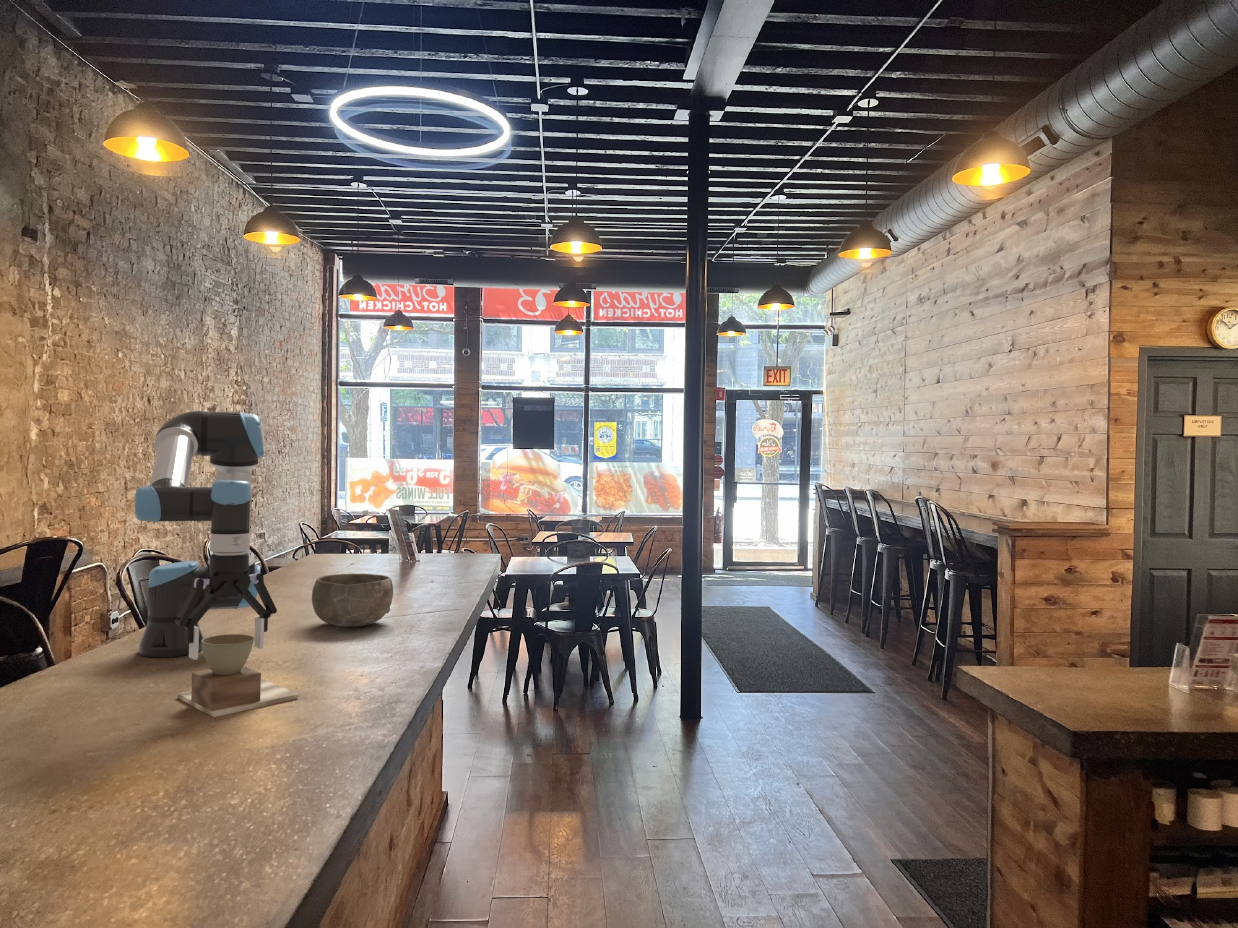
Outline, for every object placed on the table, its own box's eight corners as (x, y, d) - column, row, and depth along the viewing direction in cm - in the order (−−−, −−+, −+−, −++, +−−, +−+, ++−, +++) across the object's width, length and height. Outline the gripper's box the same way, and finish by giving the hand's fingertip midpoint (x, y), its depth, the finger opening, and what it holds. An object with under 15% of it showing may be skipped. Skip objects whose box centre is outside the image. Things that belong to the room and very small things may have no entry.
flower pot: (231, 680, 165) (232, 645, 165) (189, 676, 167) (190, 641, 167) (263, 668, 174) (264, 635, 174) (223, 664, 177) (223, 631, 176)
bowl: (409, 624, 255) (410, 577, 255) (346, 638, 234) (347, 586, 234) (358, 614, 268) (359, 569, 267) (294, 626, 247) (295, 577, 247)
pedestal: (191, 700, 170) (192, 672, 170) (238, 690, 178) (239, 663, 177) (211, 711, 163) (212, 681, 163) (260, 700, 171) (260, 672, 171)
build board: (177, 697, 174) (177, 693, 174) (259, 681, 188) (259, 677, 188) (213, 717, 163) (213, 712, 163) (298, 698, 177) (298, 693, 177)
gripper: (174, 559, 158) (171, 666, 158) (294, 550, 177) (292, 646, 178) (159, 555, 163) (156, 659, 163) (278, 547, 182) (275, 640, 182)
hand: (227, 652), depth 170 cm, fingers open, 13 cm apart
